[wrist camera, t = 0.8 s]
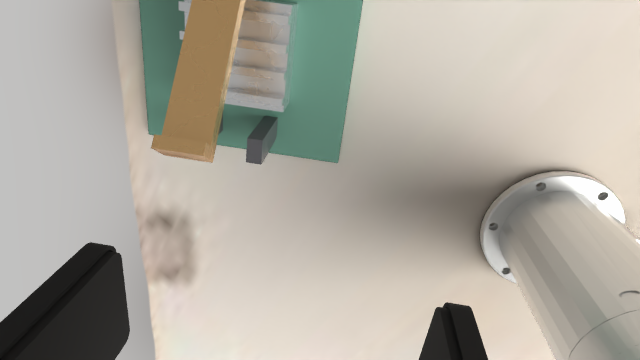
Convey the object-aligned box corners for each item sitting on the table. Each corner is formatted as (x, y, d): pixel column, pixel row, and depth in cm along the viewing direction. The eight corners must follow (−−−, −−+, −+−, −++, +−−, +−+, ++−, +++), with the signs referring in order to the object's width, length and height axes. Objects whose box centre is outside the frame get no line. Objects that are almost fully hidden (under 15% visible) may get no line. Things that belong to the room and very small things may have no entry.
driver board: (372, -60, 30) (374, -72, 24) (338, 158, 38) (333, 192, 32) (139, -91, 31) (82, -110, 25) (153, 131, 39) (113, 158, 33)
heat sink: (303, -58, 30) (288, -68, 24) (289, 102, 35) (274, 125, 30) (198, -72, 30) (158, -85, 25) (200, 89, 36) (167, 109, 30)
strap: (254, -44, 27) (249, -65, 25) (212, 162, 25) (203, 155, 23) (209, -50, 27) (201, -72, 25) (164, 155, 25) (151, 147, 23)
